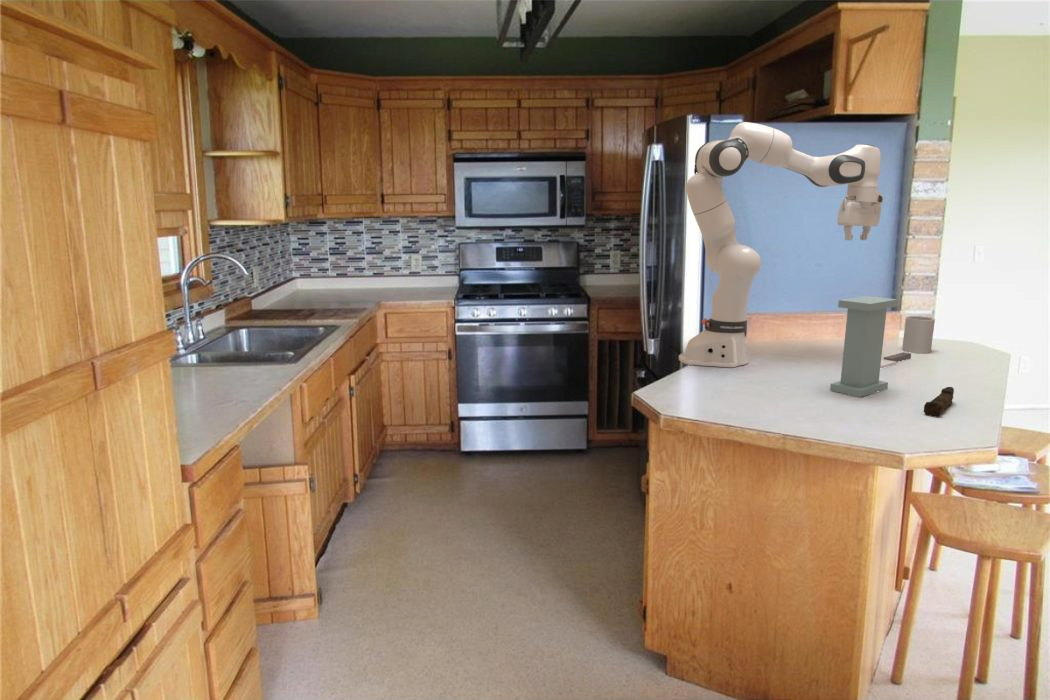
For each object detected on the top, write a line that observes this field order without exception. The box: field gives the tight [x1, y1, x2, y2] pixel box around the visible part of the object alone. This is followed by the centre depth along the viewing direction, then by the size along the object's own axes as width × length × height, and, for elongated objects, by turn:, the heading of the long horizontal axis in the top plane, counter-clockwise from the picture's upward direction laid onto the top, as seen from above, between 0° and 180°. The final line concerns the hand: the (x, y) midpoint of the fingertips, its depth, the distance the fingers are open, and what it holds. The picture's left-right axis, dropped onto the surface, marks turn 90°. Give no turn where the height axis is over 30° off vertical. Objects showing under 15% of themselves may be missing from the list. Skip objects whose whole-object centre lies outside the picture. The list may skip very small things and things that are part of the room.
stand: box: [829, 295, 898, 398], centre depth 206 cm, size 15×9×26 cm, turn 128°
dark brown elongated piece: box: [923, 386, 955, 417], centre depth 190 cm, size 19×4×5 cm, turn 135°
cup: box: [901, 315, 936, 355], centre depth 260 cm, size 9×9×12 cm
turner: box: [880, 351, 912, 369], centre depth 243 cm, size 24×6×2 cm, turn 128°
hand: (855, 240), depth 237 cm, fingers open, 8 cm apart
